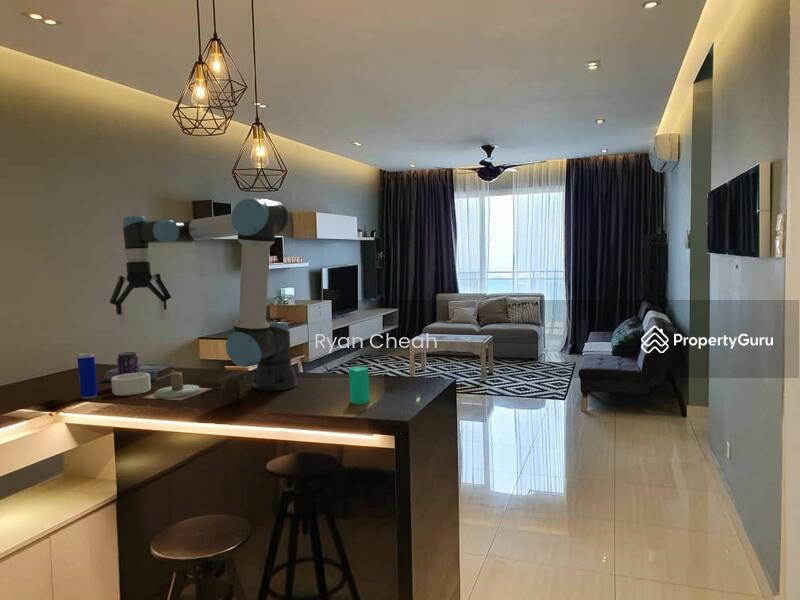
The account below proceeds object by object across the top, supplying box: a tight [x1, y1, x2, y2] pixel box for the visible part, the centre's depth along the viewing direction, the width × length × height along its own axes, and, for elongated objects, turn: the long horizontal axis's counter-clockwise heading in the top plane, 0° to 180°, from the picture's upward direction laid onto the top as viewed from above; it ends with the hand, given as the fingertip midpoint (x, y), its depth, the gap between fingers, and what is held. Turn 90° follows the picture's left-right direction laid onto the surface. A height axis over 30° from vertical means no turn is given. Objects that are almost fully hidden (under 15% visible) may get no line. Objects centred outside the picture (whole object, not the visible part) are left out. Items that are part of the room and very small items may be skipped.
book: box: [104, 362, 178, 382], centre depth 236 cm, size 21×16×5 cm
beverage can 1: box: [76, 352, 98, 400], centre depth 204 cm, size 5×5×15 cm
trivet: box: [141, 387, 213, 401], centre depth 203 cm, size 16×16×1 cm
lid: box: [154, 371, 200, 398], centre depth 203 cm, size 14×14×7 cm
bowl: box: [110, 372, 152, 396], centre depth 209 cm, size 12×12×6 cm
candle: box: [348, 363, 370, 405], centre depth 185 cm, size 6×6×12 cm
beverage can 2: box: [116, 351, 139, 375], centre depth 221 cm, size 7×7×12 cm
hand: (143, 321), depth 210 cm, fingers open, 13 cm apart
